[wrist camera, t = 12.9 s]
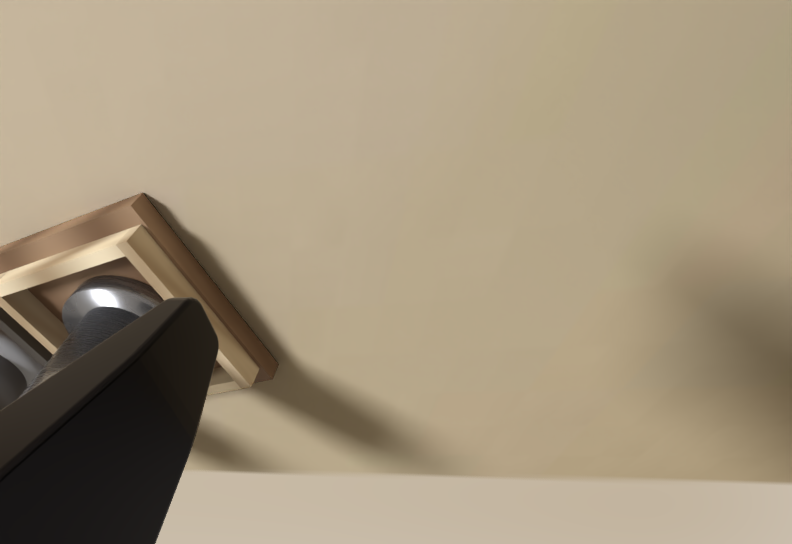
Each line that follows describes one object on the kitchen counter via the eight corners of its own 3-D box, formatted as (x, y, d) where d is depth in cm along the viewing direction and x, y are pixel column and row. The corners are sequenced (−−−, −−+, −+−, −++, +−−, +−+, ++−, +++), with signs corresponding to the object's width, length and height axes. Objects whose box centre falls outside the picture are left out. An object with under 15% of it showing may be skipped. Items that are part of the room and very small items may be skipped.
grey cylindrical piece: (197, 298, 26) (21, 586, 17) (193, 376, 30) (48, 644, 21) (67, 259, 26) (-187, 531, 16) (80, 342, 30) (-120, 601, 20)
